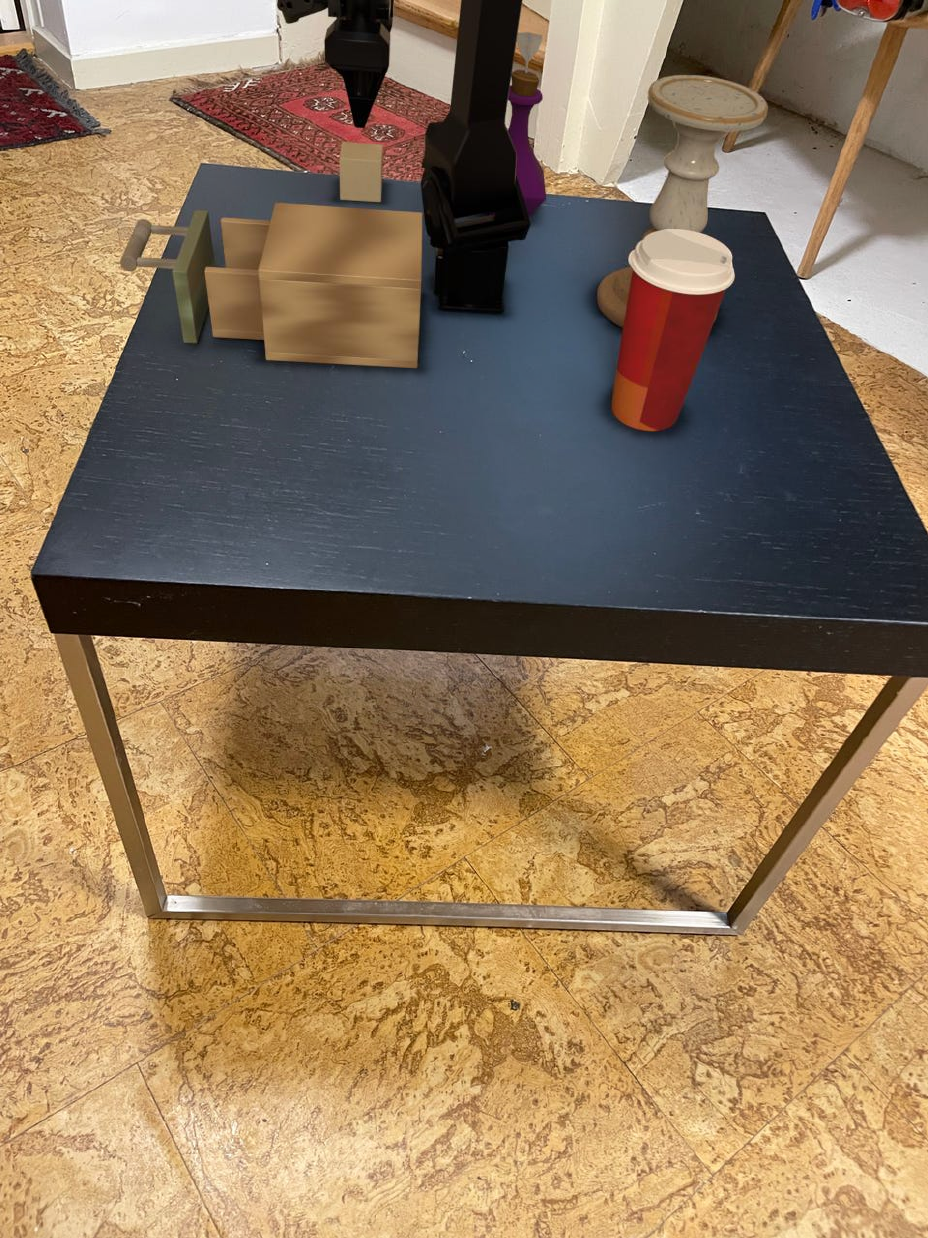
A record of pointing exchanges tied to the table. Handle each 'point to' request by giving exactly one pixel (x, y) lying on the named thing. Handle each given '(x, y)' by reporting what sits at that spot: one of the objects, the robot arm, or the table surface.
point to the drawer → (210, 274)
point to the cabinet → (342, 285)
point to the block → (361, 171)
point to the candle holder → (687, 160)
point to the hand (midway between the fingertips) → (361, 110)
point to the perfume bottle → (526, 124)
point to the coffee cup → (667, 323)
